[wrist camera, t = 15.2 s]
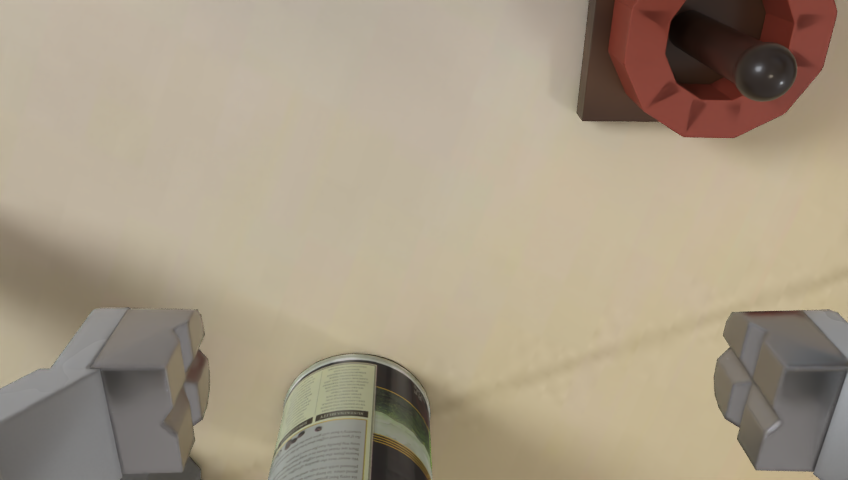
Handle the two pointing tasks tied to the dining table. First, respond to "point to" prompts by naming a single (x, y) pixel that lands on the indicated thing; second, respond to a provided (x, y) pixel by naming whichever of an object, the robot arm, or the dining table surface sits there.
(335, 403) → the coffee can
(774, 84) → the peg stand
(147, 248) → the dining table surface
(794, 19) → the ring
